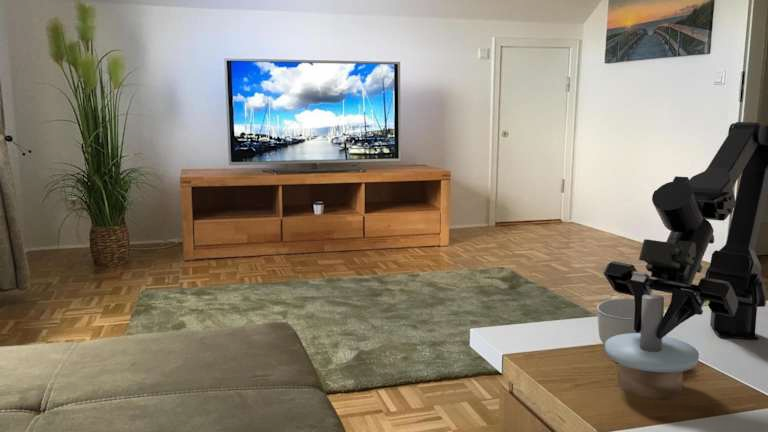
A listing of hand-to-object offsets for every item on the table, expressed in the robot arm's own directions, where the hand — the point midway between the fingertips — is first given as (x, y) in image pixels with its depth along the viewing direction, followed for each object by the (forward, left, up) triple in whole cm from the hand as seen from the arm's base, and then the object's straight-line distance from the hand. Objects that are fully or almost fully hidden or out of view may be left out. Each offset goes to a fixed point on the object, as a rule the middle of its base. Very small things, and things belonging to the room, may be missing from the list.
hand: (647, 334), depth 95 cm
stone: (-1, -1, -9) cm, 9 cm away
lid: (-1, -1, -4) cm, 4 cm away
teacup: (0, -17, -9) cm, 19 cm away
